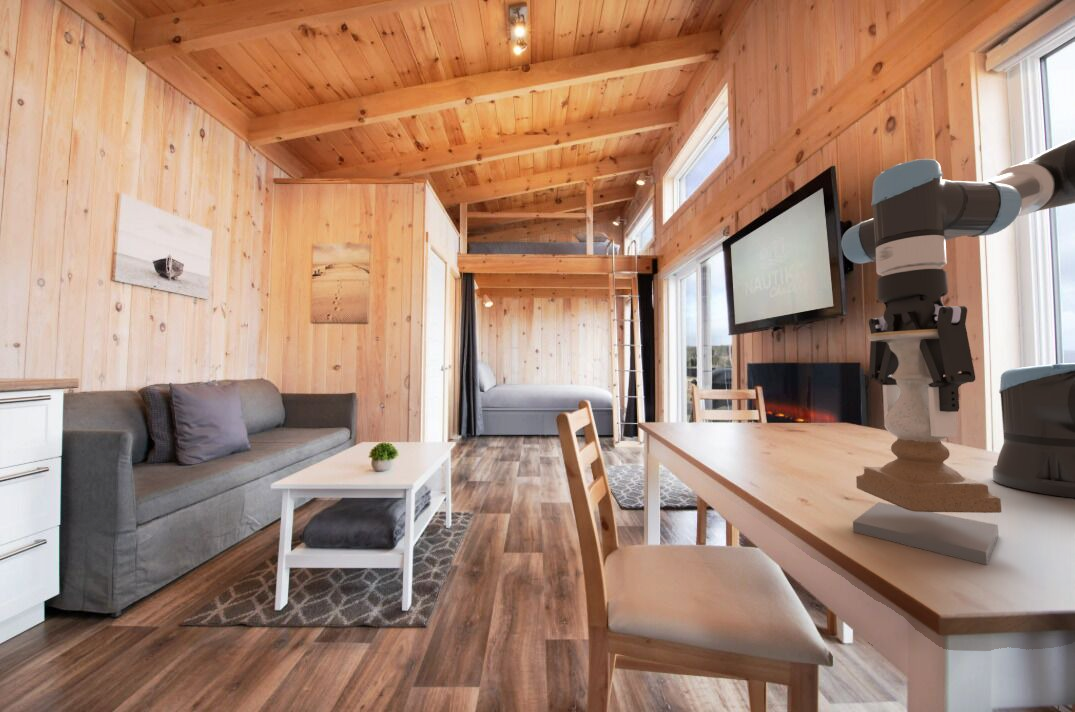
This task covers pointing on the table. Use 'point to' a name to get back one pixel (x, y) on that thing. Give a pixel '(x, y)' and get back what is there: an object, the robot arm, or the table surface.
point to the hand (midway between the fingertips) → (918, 431)
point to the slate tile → (929, 531)
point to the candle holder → (919, 443)
